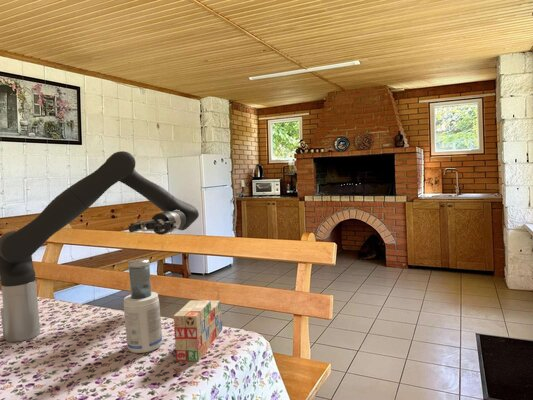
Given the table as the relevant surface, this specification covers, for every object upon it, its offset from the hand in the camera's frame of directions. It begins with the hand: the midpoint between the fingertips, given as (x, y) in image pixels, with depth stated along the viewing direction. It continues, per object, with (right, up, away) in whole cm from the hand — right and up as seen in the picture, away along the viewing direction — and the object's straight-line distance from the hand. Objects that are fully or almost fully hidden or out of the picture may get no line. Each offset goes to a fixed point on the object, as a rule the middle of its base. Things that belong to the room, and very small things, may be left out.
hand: (142, 228), depth 124 cm
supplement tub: (+5, -33, -12) cm, 35 cm away
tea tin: (+4, -18, -13) cm, 22 cm away
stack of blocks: (+21, -32, -12) cm, 40 cm away
